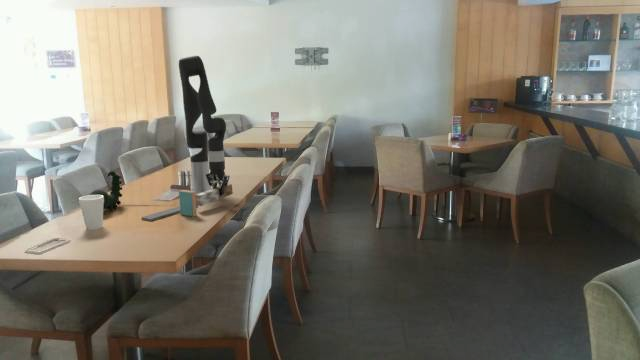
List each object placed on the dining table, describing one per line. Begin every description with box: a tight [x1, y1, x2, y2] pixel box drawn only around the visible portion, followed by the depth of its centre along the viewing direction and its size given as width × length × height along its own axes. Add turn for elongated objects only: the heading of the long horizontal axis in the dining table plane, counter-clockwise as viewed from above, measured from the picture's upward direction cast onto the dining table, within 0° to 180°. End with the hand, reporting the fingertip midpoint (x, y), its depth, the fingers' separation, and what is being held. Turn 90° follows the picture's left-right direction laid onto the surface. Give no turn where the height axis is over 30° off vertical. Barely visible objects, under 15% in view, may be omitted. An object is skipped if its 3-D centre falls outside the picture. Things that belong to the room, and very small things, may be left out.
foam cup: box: [78, 194, 104, 231], centre depth 213 cm, size 10×9×13 cm
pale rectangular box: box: [195, 183, 234, 207], centre depth 245 cm, size 22×3×5 cm, turn 148°
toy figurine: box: [89, 170, 123, 211], centre depth 240 cm, size 9×19×25 cm
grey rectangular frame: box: [24, 237, 71, 255], centre depth 191 cm, size 7×1×15 cm
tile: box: [178, 189, 198, 217], centre depth 231 cm, size 2×8×11 cm, turn 58°
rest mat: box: [141, 205, 199, 222], centre depth 236 cm, size 28×6×1 cm, turn 148°
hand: (218, 194), depth 248 cm, fingers closed on pale rectangular box, 3 cm apart
